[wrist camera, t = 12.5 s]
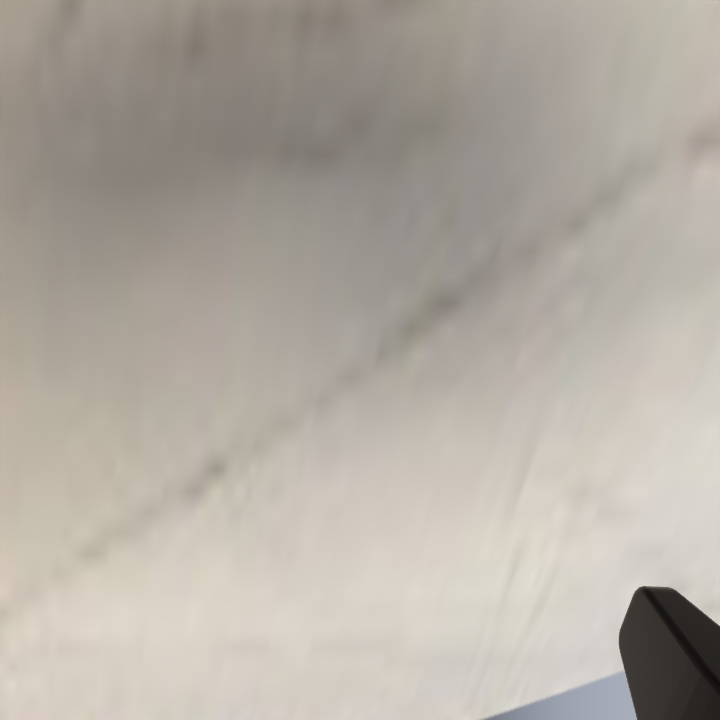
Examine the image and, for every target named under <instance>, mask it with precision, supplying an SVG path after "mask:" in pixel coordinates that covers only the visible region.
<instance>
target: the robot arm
mask: <svg viewBox="0 0 720 720" xmlns="http://www.w3.org/2000/svg"><path fill="white" fill-rule="evenodd" d="M619 649H620V653H621V657H622V661H623V665H624V669H625V673H626V677H627V681H628V685H629V688H630V693H631V697H632V701H633V704H634V708H635V713H636V717H637V720H720V626H719V625H718V624H717V623H715V622H714V621H713V620H712V619H710V618H709V617H708V616H707V615H706V614H704V613H703V612H702V611H701V610H699V609H698V608H697V607H696V606H695V605H693V604H692V603H691V602H690V601H688V600H687V599H686V598H685V597H684V596H682V595H681V594H680V593H679V592H677V591H676V590H674V589H672V588H669V587H651V586H643V587H639V588H638V589H637V590H636V591H635V593H634V595H633V597H632V600H631V602H630V605H629V608H628V610H627V613H626V616H625V618H624V621H623V623H622V626H621V629H620V633H619Z"/></svg>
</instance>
